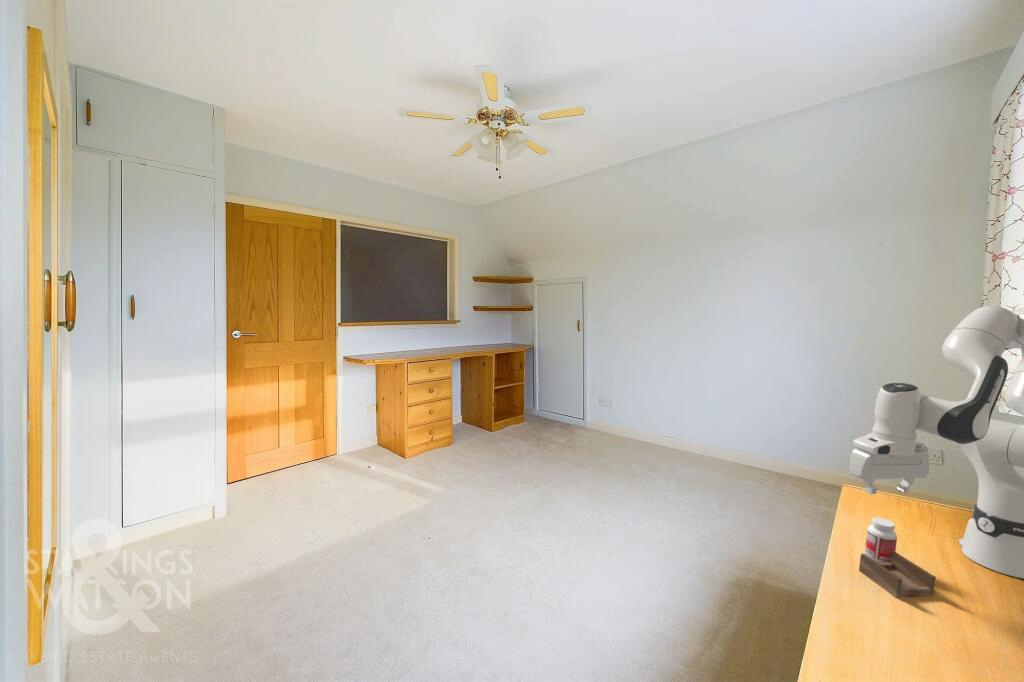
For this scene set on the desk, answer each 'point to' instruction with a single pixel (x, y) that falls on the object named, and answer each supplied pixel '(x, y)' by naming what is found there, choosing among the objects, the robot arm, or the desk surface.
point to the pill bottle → (881, 540)
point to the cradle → (898, 576)
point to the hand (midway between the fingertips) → (886, 492)
